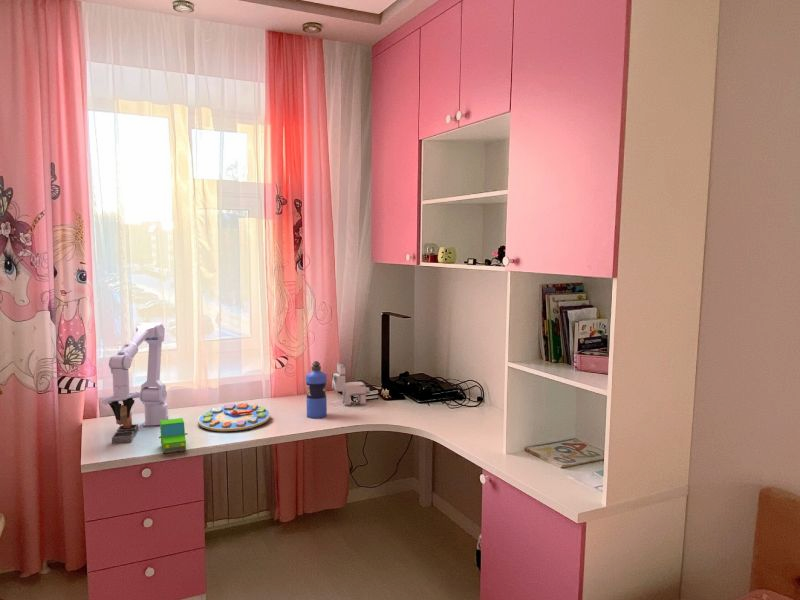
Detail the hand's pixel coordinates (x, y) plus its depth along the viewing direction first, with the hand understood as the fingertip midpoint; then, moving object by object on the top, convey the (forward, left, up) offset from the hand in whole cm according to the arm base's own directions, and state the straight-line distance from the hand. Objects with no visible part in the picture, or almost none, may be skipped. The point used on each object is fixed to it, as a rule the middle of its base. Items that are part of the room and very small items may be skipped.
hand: (122, 418), depth 240 cm
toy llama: (-98, -33, -9) cm, 103 cm away
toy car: (-21, +16, -9) cm, 28 cm away
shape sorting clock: (-43, -15, -9) cm, 46 cm away
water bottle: (-79, -16, -9) cm, 81 cm away
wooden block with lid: (0, 0, -2) cm, 2 cm away
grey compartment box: (0, -5, -9) cm, 10 cm away
